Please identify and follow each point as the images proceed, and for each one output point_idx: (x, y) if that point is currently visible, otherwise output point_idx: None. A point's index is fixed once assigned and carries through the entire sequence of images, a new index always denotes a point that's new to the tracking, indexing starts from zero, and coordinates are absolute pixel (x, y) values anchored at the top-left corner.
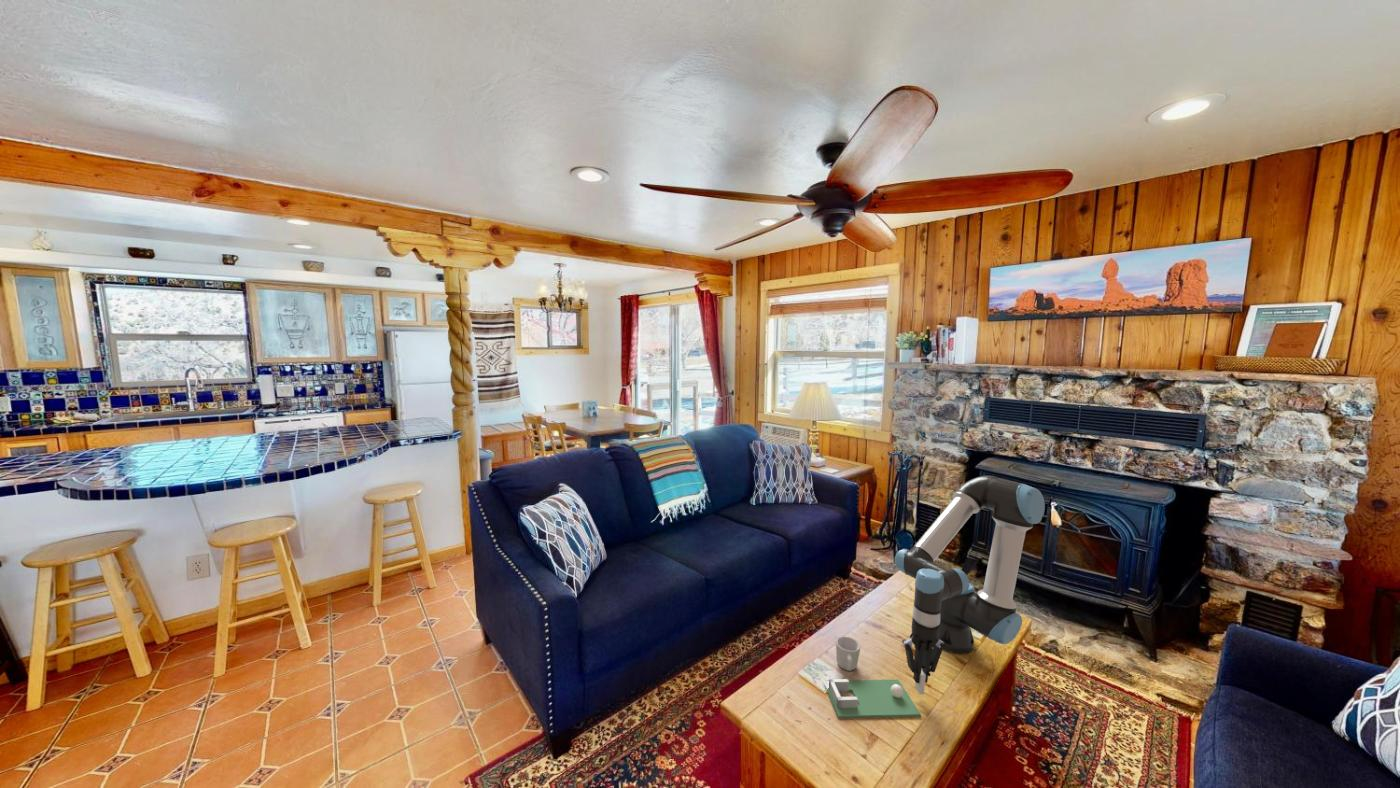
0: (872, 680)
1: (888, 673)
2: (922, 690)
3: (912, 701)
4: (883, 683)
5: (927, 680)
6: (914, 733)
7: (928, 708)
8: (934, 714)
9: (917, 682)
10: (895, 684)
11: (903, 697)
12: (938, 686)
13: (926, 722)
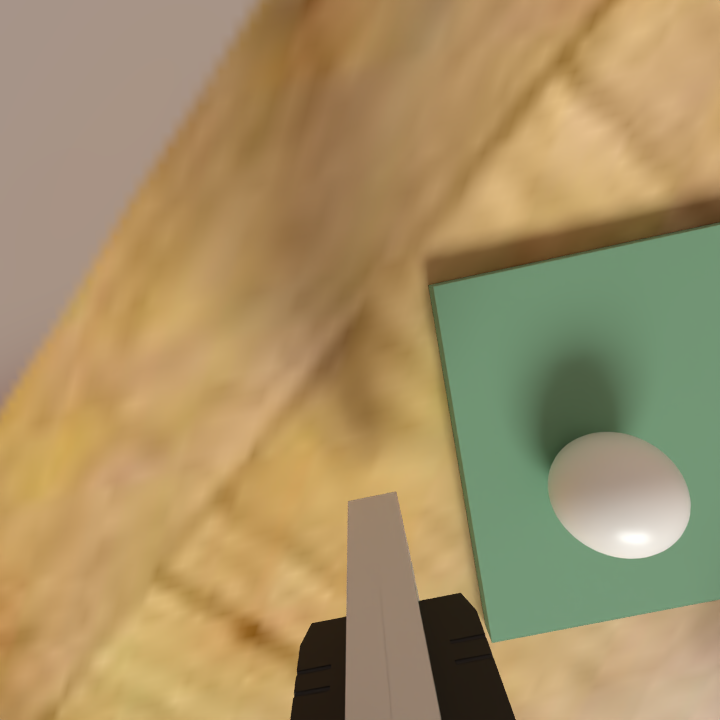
0: (716, 593)
1: (529, 686)
2: (369, 525)
3: (458, 428)
4: (636, 580)
5: (300, 656)
6: (560, 55)
7: (326, 395)
8: (294, 336)
9: (444, 602)
10: (662, 547)
11: (523, 459)
12: (176, 636)
13: (396, 225)
